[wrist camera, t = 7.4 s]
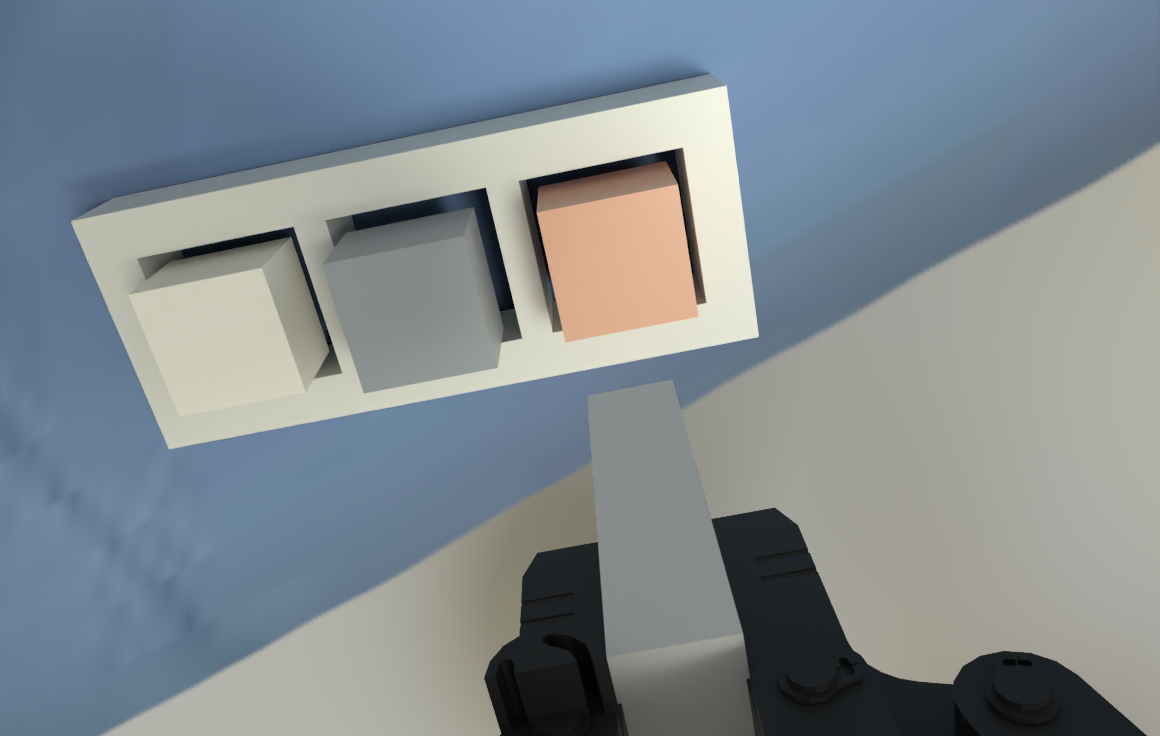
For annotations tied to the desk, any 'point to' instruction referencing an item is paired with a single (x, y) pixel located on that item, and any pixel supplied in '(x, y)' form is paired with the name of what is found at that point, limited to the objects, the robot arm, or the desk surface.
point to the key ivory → (232, 326)
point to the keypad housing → (429, 170)
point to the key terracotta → (617, 251)
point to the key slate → (416, 300)
